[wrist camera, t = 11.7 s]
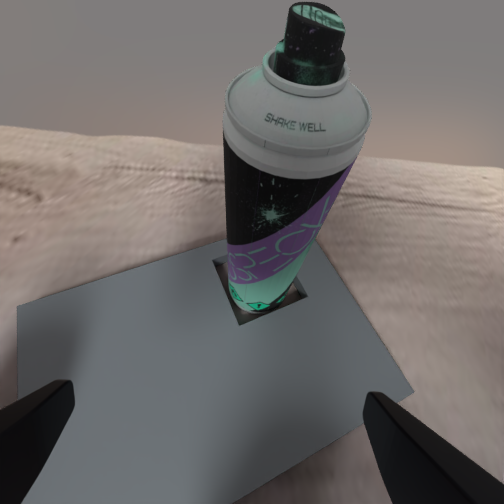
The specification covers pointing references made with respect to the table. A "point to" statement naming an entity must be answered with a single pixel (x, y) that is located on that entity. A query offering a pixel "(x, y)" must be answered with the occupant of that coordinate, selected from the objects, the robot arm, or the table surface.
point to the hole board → (196, 381)
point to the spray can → (287, 153)
